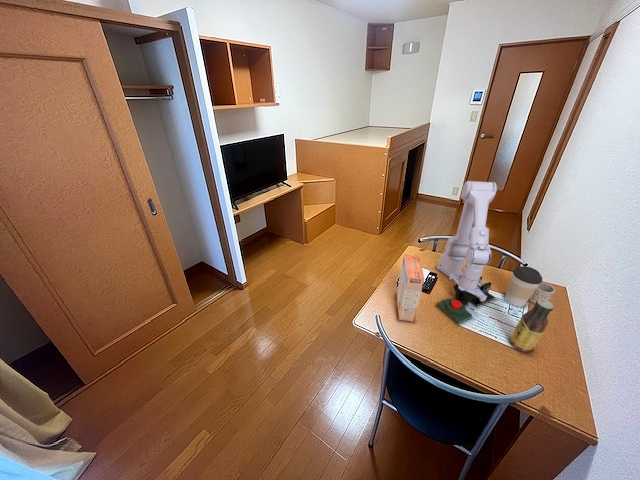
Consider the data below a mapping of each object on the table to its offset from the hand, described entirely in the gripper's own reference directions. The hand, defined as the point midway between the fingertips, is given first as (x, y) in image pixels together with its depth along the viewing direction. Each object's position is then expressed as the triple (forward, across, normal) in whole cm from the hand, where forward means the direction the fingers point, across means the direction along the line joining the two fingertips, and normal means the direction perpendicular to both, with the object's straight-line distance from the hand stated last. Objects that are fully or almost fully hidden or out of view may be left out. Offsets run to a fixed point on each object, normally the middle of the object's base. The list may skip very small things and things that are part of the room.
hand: (461, 302), depth 103 cm
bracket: (0, 0, +8) cm, 9 cm away
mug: (+1, +10, +28) cm, 30 cm away
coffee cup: (+1, +8, +20) cm, 22 cm away
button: (-3, +2, -6) cm, 7 cm away
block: (0, +2, -6) cm, 7 cm away
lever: (-3, 0, +5) cm, 6 cm away
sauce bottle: (+1, +22, +2) cm, 22 cm away
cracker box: (+1, -8, -22) cm, 23 cm away
